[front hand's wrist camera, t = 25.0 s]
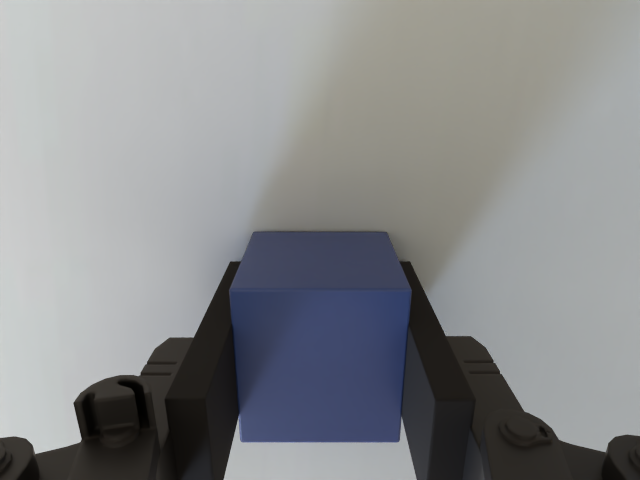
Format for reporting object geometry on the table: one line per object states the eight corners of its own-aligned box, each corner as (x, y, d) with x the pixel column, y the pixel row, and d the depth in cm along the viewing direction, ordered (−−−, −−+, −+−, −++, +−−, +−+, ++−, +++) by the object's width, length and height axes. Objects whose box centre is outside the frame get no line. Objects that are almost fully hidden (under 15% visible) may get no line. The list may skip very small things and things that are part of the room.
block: (252, 231, 14) (228, 288, 10) (387, 231, 14) (412, 289, 10) (259, 353, 16) (239, 443, 12) (380, 353, 16) (399, 443, 12)
